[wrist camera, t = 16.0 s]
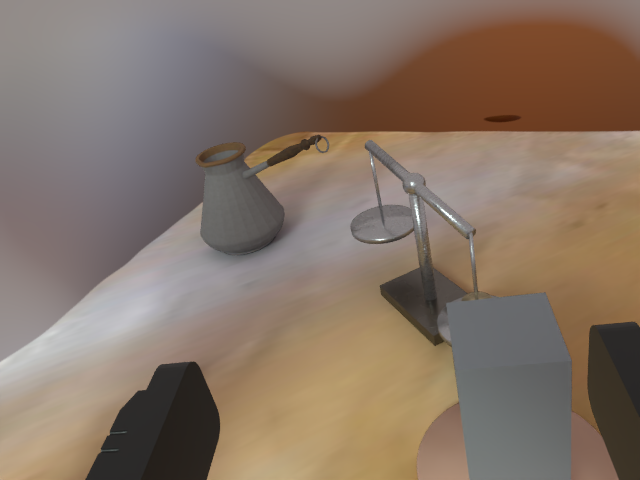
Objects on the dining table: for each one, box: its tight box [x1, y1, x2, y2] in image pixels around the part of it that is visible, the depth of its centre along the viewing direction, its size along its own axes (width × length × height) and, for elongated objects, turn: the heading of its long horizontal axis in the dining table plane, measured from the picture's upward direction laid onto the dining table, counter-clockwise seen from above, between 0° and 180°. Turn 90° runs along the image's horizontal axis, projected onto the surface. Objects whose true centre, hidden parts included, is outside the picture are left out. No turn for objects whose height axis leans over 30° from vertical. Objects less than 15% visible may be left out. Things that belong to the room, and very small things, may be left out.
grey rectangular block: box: [446, 293, 572, 480], centre depth 36 cm, size 6×6×12 cm
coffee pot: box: [196, 135, 329, 255], centre depth 71 cm, size 21×12×15 cm, turn 61°
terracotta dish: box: [417, 403, 619, 480], centre depth 39 cm, size 13×13×1 cm
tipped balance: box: [351, 140, 498, 347], centre depth 53 cm, size 23×7×16 cm, turn 24°
